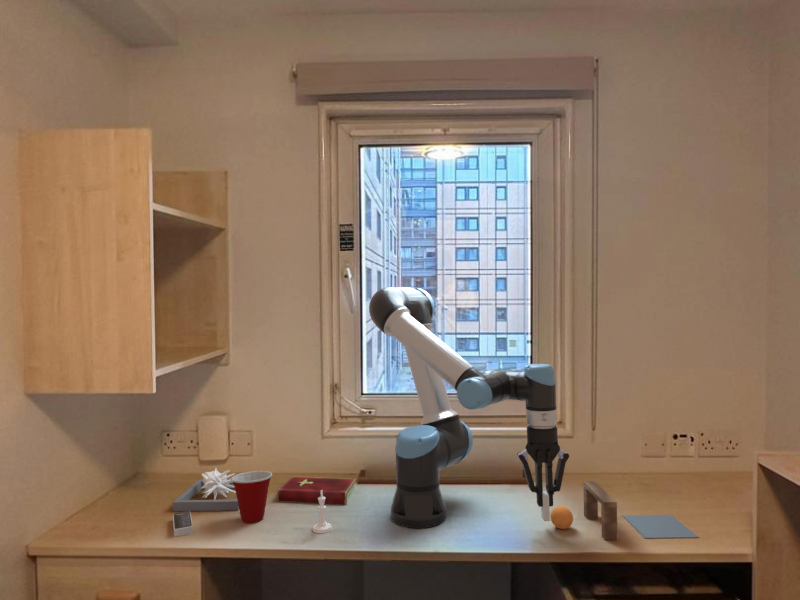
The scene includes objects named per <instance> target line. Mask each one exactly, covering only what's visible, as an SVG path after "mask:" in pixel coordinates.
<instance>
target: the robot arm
mask: <svg viewBox="0 0 800 600" xmlns="http://www.w3.org/2000/svg"><path fill="white" fill-rule="evenodd" d="M435 309H436V308H435V302H434V299H433V297H432V296H431V295H430V293H428V291H426V290H424V289H422V288H421V287H420V288H419V287H414V286H408V287H405V286H404V287H402V286H400V287H399V286H398V287H393V286H386V287H384V288H380V289H379V290H377V291H376V292H375V293H373V295H372V296H371V299H370V301H369V305H368V311H369V312H368V313H369V316H370V319H371V320H372V321H371V322H373V323H374V325H375V326H376V328H377V329H379V330H380V331H381V332H382V333H384V334H385V335H386V336H388V337H393V338H395V339H396V340H397V341H398V342H399V343H401V344H402V345H403V347H404V350H405V353H406V358H407V361H408V364H409V368H410V372H411V375H412V378H413V383H414V387H415V389H416V390H415V391H416V393H417V397H418V398H417V399H418V401H419V405H420V409H421V411H422V412H421V413H422V415H423V418H422V420H421V421H420V424H417V425H412V426H408V427H405V428H402V429H401V430H400V431H399V432H398V434H397V435H396V438H395V439H396V440H395V446H394V447H395V464H396V465H395V472H396V488H395V492H394V496H393V498H392V503H391V505H390V519H391V521H392V522H393V523H395V524H397V525H398V526H400V527H406V528H412V529H423V528H432V527H436V526H438V525H440V524H442V523H444V522H445V521H446V519H447V507H446V504H445V503H446V502H445V500H444V497H443V493H442V492H441V488H440V471H442V470H445V469H446V468H448V467H451V466H452V465H456V464H459V463H460V462H461V461H463V460H464V459H466V458H468V456H469V455H470V453H471V451H472V449H473V446H474V443H473V442H474V440H473V438H474V437H473V433H472V431H471V428H470V427H469V426H468V425H467V424H466V423H465V422H464V421H462V420H461V419H460V415H459V413H458V412H457V411H455V410H453V409H452V405H451V403H450V399H449V395H448V393H447V388H446V384H445V382H446V383H447V384H448V385H449V386H450V387H452V388H453V389H454V390H455V391H456V397H457V399H458V401H459V403H460V405H462V407H464V408H465V409H467V410H478V409H484V408H486V407H488V406H491V405H493V404H498V403H500V402H503V401H507V400H509V401H510V400H512V401H521V402H523V401H525V413H526V414H525V416H526V421H525V422H526V424H527V426H526V441H527V442H526V445H525V449H523V450H522V452H520V451H519V452H517V453H516V455H517V457H518V458H519V460H520V462H521V465H522V468H523V471H524V475H525V479H526V483H527V486H528V488H529V490H530V491H531V492H532V493H535V494H536V504H537V507H540V514H541V519H542V521H543V522H551V517H550V515H551V512H550V511H551V509H550V507H553V505H554V495H555V493H556V492H558V493H559V491H561V488H562V483H563V478H564V474H565V473H564V472H565V469H566V468H565V467H566V463H567V461H568V459H569V458H570V453H568V452H567V451H566V450H563V449H562V448H561V447H560V444H559V439H558V427H557V426H556V425H557V424H558V418H557V417H558V416H557V395H556V393H557V389H556V388H557V386H556V385H557V381H556V375H555V368H554V367H553V366H552V365H551V364H549V363H548V364H547V363H528V364H526V365H524V369H523V371H517V370H516V371H515V370H514V371H512V370H501V369H495V370H494V369H492V370H490V369H489V370H486V371H484V374H483V373H482V372H481V371H479V370H478V369H476V368H475V367H474V366H473V365H472V364H471V363H470V362H469V361H467V360H466V359H465V358H463V357H462V356H461V355H460V354H459V353H457V352H456V351H455V350H453V349H452V348H451V347H450V346H449V345H447V344H446V343H445V342H444V341H443V340H442V339H440V338H439V337H437V336H436V334H434V333H433V332H431V329H432V328H433V327H434V326H433V325H434V323H433V321H432V319H433V318H434V314H435V312H436V311H435ZM528 455H529V456H530V457H531V459H532V460H533V462H534V476H535V478H533V476H532V472H531V469H530V465H529V462H528V459H529V456H528ZM557 457H558V460H557V464H556V468H555V473H554V479H553V462H554V460H555V458H557ZM543 464H544V471H545V490H544V489H543V488H544V486H543V484H544V483H543ZM534 479H535V483H534Z"/></svg>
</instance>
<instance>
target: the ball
mask: <svg viewBox="0 0 800 600" xmlns="http://www.w3.org/2000/svg"><path fill="white" fill-rule="evenodd" d="M550 511H551V512H550V522H551V523H552V524H553V526H554V527H556V528H557V529H560V530H566V529H569V528H570V527H571V526H572V524H573V522H574V516H573V512H572V511H571V510H570V508H568V507H566V506H564V505H557V506H555V507H553V509H552V510H550Z"/></svg>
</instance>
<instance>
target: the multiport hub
mask: <svg viewBox="0 0 800 600" xmlns="http://www.w3.org/2000/svg"><path fill="white" fill-rule="evenodd" d="M191 512H192V511H180V512H177V513H173V514H172V526H173V529H174V530H173V537H174V538H176V537H175V536H177V537H181V535H183V536H186V535H187V534H188V535H192V534H193V533H194V527H193V525H194V524H193V520H192V514H191ZM188 535H187V536H188Z"/></svg>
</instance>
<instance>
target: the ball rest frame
mask: <svg viewBox="0 0 800 600" xmlns="http://www.w3.org/2000/svg"><path fill="white" fill-rule="evenodd" d="M230 479H231V478H227V480H230ZM229 484H230V485H233V486H234V483H233V482H232V483H229ZM203 486H204V483H203V479H197V480H196V481H195V482H194V483H193V484H192V485H191V486H189V487H188V489H186V490H185V491H184V492H183V493H182V494H181V495H180V496H178V497H177V498H176V499H175V500H174V501H172V512H187V511H190V512H199V511H200V512H205V511H206V512H211V511H212V512H213V511H214V512H215V511H218V512H220V511H221V512H222V511H240V510H239V506H238V501H237V496H236V497H235V498H234V499H215V500H214V499H193V498H194V497H195V496H196V495H197V494H198V493H199V492H200V491H201V490H205V488H203V489H201V488H202V487H203ZM225 487H226V486H225ZM227 488H229V489H231V490H235V488H232V487H231V488H230V487H227ZM193 496H194V497H193ZM192 497H193V498H192ZM191 498H192V499H191ZM190 499H191V500H190Z"/></svg>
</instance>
